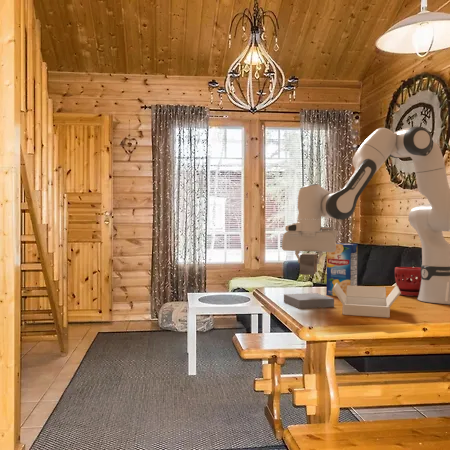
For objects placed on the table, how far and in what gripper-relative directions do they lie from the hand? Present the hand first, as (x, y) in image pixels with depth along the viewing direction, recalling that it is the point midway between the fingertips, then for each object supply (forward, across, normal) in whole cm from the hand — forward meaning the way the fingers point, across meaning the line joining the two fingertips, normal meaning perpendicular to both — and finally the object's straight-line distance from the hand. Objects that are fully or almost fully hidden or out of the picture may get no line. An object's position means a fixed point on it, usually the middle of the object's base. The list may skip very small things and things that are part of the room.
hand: (308, 263), depth 178 cm
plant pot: (+16, -39, -39) cm, 57 cm away
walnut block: (+4, 0, 0) cm, 4 cm away
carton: (+15, -21, +5) cm, 27 cm away
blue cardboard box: (+16, -11, -27) cm, 33 cm away
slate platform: (+16, 0, 0) cm, 16 cm away
